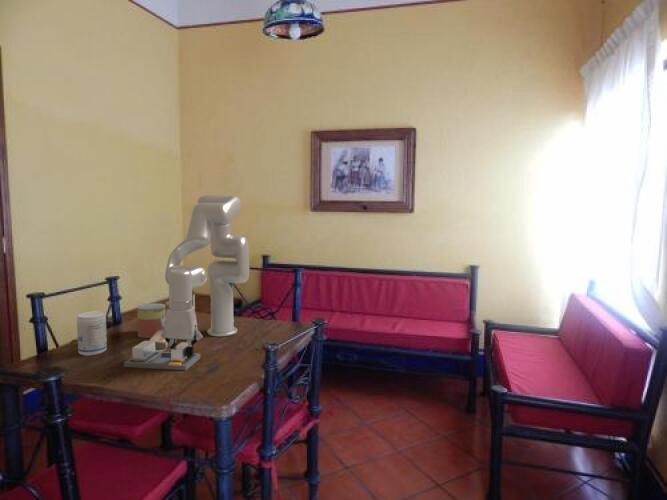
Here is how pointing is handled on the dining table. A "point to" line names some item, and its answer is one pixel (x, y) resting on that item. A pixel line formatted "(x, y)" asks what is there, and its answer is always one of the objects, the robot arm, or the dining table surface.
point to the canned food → (150, 319)
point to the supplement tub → (91, 333)
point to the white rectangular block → (180, 353)
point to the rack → (162, 362)
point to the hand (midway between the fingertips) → (182, 355)
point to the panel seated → (143, 351)
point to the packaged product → (159, 341)
